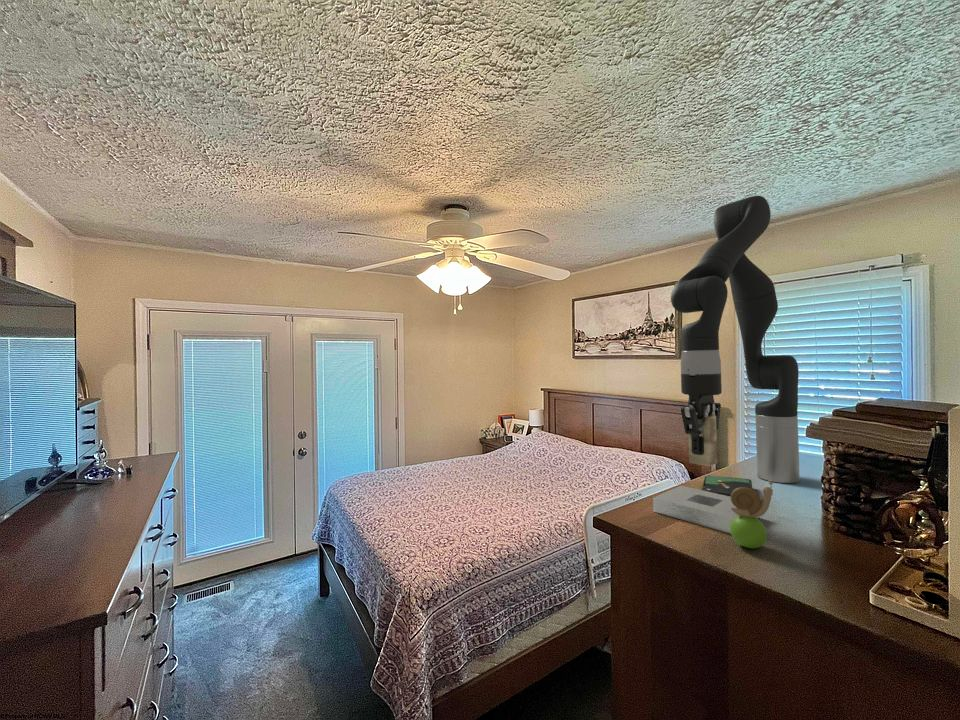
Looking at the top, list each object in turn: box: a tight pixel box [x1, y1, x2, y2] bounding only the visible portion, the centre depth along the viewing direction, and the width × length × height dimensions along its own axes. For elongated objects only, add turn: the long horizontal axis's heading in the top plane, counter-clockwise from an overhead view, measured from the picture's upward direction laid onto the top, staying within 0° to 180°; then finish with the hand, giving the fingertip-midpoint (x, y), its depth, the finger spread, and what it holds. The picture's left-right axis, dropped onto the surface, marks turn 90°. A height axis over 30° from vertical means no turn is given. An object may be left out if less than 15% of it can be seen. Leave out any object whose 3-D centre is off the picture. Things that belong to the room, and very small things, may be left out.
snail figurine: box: [730, 480, 774, 549], centre depth 70 cm, size 5×6×12 cm
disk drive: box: [701, 474, 753, 497], centre depth 98 cm, size 10×3×15 cm
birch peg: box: [687, 416, 718, 467], centre depth 85 cm, size 4×4×10 cm
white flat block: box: [652, 485, 760, 535], centre depth 85 cm, size 13×16×3 cm
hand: (702, 452), depth 85 cm, fingers closed on birch peg, 4 cm apart
